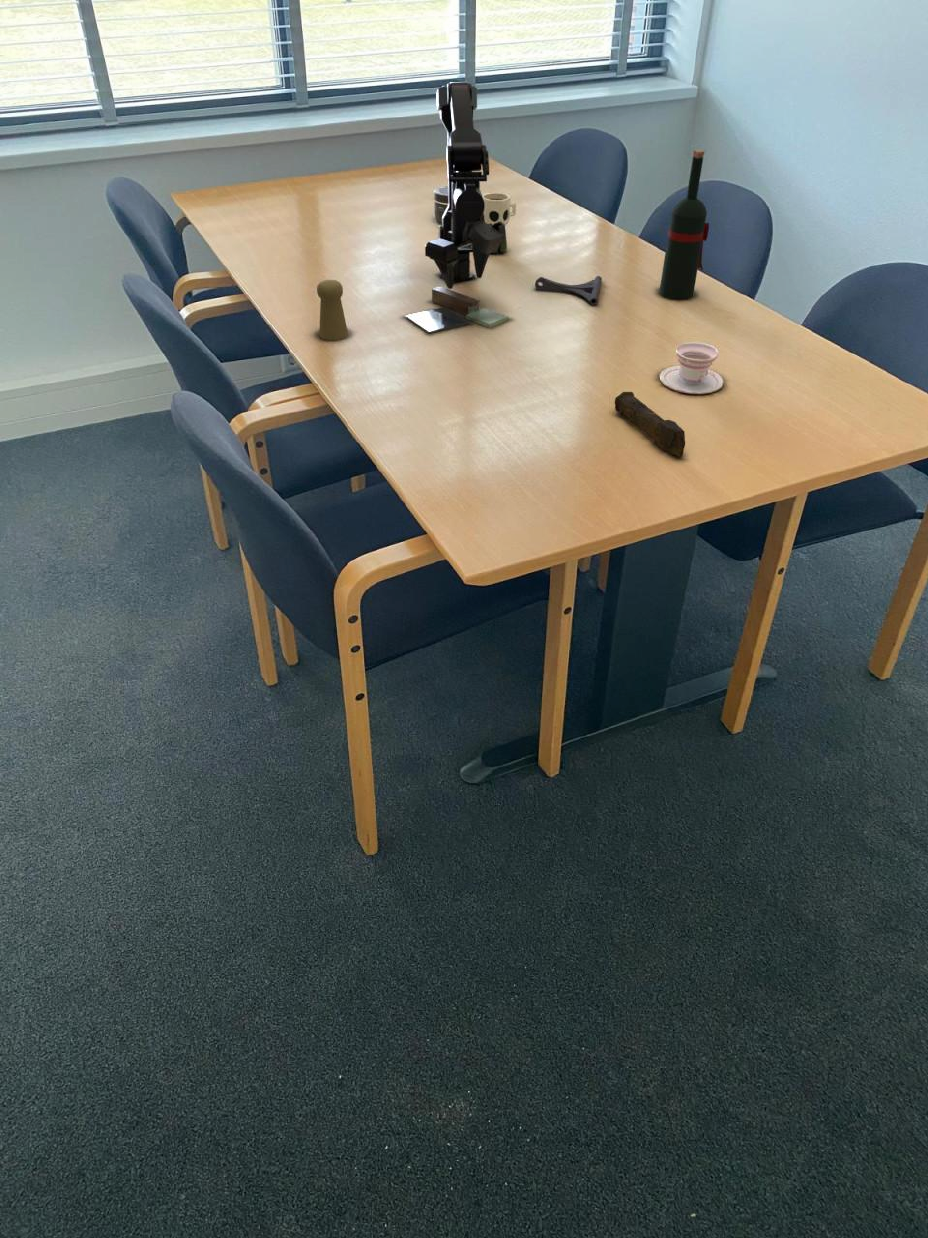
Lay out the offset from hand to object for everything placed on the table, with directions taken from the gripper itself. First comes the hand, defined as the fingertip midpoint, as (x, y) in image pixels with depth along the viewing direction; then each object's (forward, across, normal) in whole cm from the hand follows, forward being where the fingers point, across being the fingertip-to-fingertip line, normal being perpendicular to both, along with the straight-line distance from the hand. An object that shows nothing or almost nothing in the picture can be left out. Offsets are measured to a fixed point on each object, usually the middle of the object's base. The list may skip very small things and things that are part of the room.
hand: (464, 282), depth 198 cm
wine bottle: (+6, +43, -28) cm, 52 cm away
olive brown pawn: (+6, -28, +11) cm, 31 cm away
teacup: (+6, +5, -55) cm, 56 cm away
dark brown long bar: (+6, -18, -62) cm, 64 cm away
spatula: (+6, 0, -1) cm, 6 cm away
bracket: (+6, +25, -9) cm, 27 cm away
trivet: (+6, -8, 0) cm, 10 cm away
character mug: (+6, +34, +22) cm, 41 cm away
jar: (+6, +45, +47) cm, 65 cm away
